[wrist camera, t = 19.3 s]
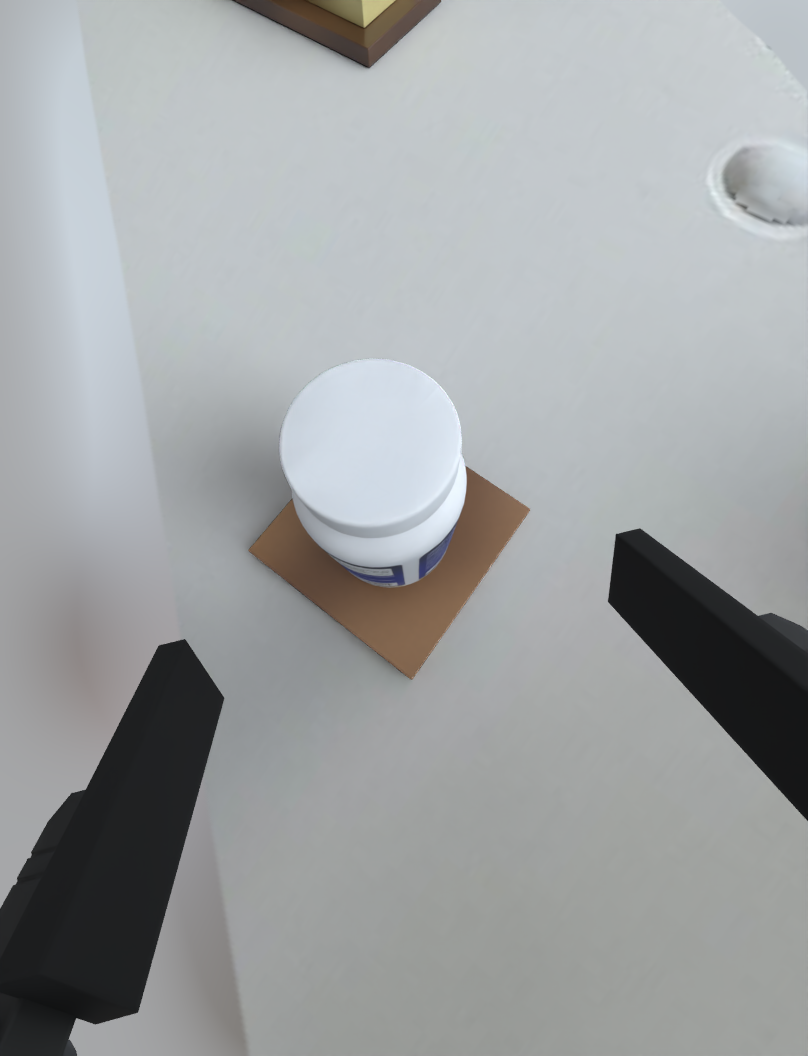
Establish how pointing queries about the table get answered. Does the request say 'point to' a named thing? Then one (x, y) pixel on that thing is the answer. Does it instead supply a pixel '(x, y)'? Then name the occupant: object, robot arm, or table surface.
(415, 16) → the butter board
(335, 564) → the cork coaster
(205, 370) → the table surface
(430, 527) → the pill bottle
